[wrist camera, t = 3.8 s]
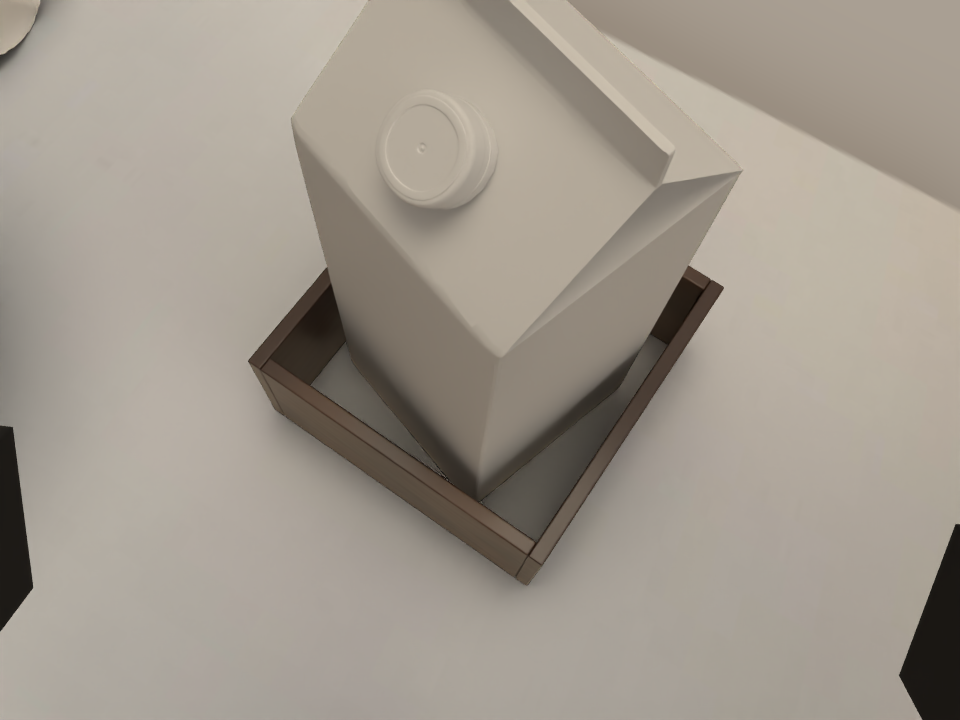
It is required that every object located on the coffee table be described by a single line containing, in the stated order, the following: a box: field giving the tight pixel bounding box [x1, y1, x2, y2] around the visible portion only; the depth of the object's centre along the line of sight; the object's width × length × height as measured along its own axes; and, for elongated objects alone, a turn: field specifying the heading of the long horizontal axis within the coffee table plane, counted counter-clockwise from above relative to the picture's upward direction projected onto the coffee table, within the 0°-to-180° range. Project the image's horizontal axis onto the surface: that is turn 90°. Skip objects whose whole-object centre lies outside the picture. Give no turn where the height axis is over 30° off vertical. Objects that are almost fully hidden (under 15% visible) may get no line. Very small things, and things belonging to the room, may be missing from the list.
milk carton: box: [291, 0, 743, 502], centre depth 25 cm, size 7×7×19 cm
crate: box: [248, 266, 724, 586], centre depth 32 cm, size 11×11×5 cm
